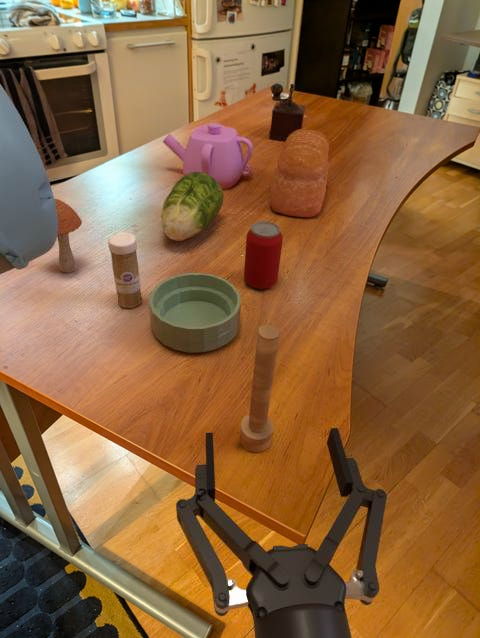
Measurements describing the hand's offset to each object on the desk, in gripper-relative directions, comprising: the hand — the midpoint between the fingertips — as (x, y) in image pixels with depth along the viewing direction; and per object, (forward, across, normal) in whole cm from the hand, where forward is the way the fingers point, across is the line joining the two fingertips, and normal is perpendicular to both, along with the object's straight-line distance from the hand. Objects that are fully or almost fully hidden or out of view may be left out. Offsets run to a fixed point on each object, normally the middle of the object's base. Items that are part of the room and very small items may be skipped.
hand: (271, 437), depth 50 cm
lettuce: (+65, -9, -11) cm, 66 cm away
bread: (+84, +20, -11) cm, 87 cm away
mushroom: (+50, -33, -11) cm, 61 cm away
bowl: (+32, -8, -11) cm, 35 cm away
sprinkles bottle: (+39, -20, -11) cm, 45 cm away
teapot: (+96, -4, -11) cm, 97 cm away
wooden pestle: (+8, 0, -11) cm, 14 cm away
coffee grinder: (+128, +22, -11) cm, 130 cm away
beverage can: (+45, +5, -12) cm, 47 cm away
